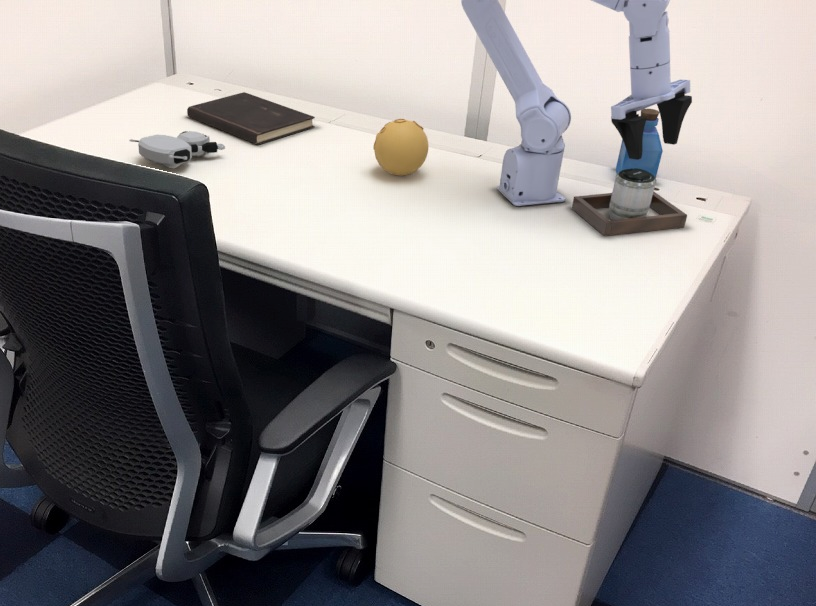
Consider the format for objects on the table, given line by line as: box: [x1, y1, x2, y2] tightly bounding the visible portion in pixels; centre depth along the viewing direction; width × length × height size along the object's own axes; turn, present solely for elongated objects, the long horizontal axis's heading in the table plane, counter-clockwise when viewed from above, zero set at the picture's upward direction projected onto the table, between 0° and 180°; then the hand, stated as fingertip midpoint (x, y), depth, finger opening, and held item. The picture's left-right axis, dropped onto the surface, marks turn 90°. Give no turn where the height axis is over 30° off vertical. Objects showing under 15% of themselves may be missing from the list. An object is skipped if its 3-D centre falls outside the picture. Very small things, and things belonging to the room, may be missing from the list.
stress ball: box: [373, 118, 430, 176], centre depth 155 cm, size 10×10×10 cm
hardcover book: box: [186, 91, 316, 146], centre depth 180 cm, size 16×23×2 cm
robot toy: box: [129, 130, 226, 169], centre depth 162 cm, size 12×4×15 cm
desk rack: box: [571, 191, 688, 237], centre depth 142 cm, size 14×11×2 cm
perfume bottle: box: [615, 108, 664, 180], centre depth 154 cm, size 6×6×12 cm
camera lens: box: [608, 168, 657, 220], centre depth 140 cm, size 6×6×8 cm
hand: (653, 150), depth 137 cm, fingers open, 7 cm apart
